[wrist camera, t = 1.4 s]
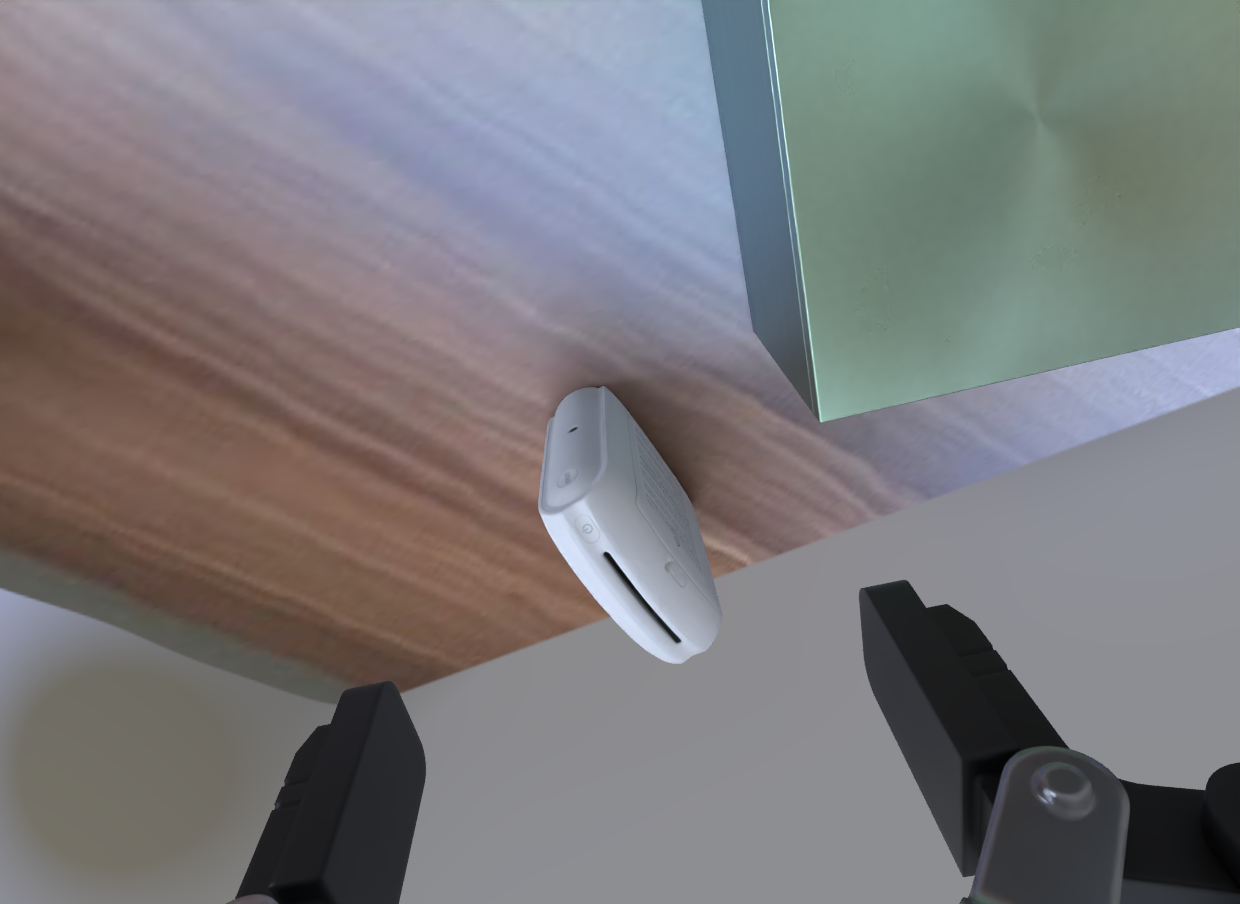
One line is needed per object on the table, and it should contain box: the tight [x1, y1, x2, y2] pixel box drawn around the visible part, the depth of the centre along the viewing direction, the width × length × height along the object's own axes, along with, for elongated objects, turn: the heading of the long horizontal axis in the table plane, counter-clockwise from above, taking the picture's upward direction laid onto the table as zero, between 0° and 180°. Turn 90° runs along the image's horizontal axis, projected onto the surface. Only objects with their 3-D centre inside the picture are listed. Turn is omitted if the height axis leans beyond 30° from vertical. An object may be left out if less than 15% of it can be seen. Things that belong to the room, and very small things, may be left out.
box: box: [702, 0, 814, 414], centre depth 30 cm, size 17×16×11 cm
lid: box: [762, 0, 1240, 423], centre depth 22 cm, size 18×16×6 cm
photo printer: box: [538, 386, 722, 664], centre depth 36 cm, size 10×4×12 cm, turn 33°
